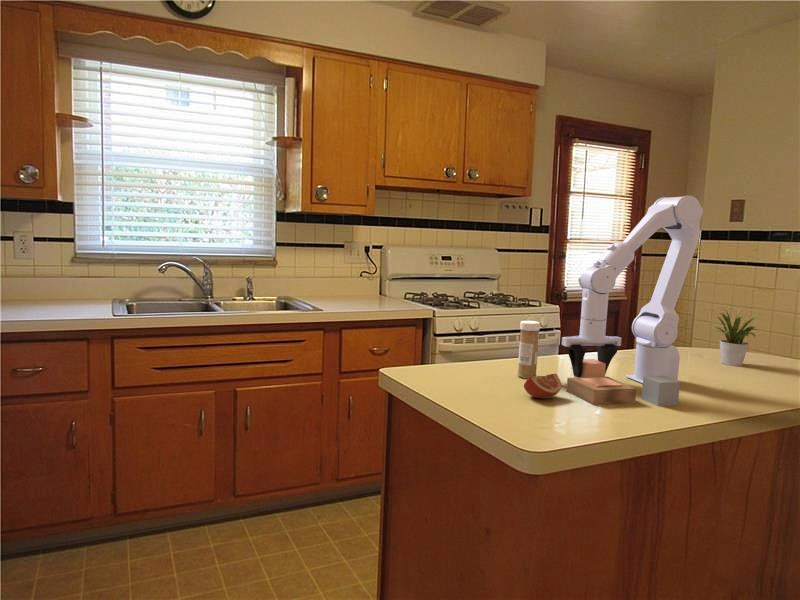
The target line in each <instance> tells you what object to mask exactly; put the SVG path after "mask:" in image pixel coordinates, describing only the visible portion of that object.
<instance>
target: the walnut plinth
mask: <svg viewBox="0 0 800 600" xmlns="http://www.w3.org/2000/svg"><path fill="white" fill-rule="evenodd" d="M566 378H567V380H566V392H567V393H568V394H570V395H572V396H575V397H577V398H579V399H580V400H582V401H584V402H585V403H588V404H590V405H591V406H599V405H602V406H603V405H621V404H622V405H623V404H624V405H625V404H635V403H636V396H637V395H636V394H637V388H636V387H633V386H631V385H629V384H627V383H624V382H622V381H619V380H617V379H614V378H611V377H610V376H606V375H605V377H574V376H573V377H566Z"/></svg>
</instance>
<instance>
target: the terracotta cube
mask: <svg viewBox="0 0 800 600" xmlns="http://www.w3.org/2000/svg"><path fill="white" fill-rule="evenodd" d="M605 368H606V364H605V363H603V362H600V361H598V359H595V358H584V359H583V363H582V373H581V377H605V376H606V374H605ZM574 377H576V376H574V375H573V378H574Z"/></svg>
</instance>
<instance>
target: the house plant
mask: <svg viewBox="0 0 800 600" xmlns="http://www.w3.org/2000/svg"><path fill="white" fill-rule="evenodd" d="M741 308H742V306H740V307H739V309H738V310H737V312H736V315H735V318H734V322H733V326H732V322H731V318H730V315H729V312H728V311H727V310H726V309H723V308H722V310H720V312H719V315H721V316H722V317H721V316H716V318H717V319H718V321H720V322H721V324H722V325H723V328H724V329H723V328H720V326H719V327H718V326H713V327H712V329H717V330H719V332H720V333H723V336H725V338H726V339H720V340H719V350H720V363H721V364H723V365H727V366H732V367H733V366H734V367H741V366H743V364H744V359H745V357H746V353H747V350H748V347H749V343H748V342H746V341H744V339H745V337H746V338H749V335H751V336H753V338H756V334H755V332H752V331H756V330H757V331H758V328H756V326H754V325H753V326H751V325H750V326H748V325H749V324H750V323H751V322H753V321H754V320H755V319H757V318H759V316H760V315H761V314H755V315H753V316H751V317H750V318H748V319H747V320H746V321H745V322H744V323H743V324H742V326H741V321H742V319H743V318H744V317H742V316H743V314H742V315H741V313H740V310H741ZM706 310H708V311H709V309H708V308H706ZM710 311H712V312H713V310H712V309H710ZM724 311H725V312H726V314H727V315H726V314H725V312H724ZM746 312H747V311H745V312H744V314H746ZM714 313H715V314H717V312H715V311H714ZM723 320H724V321H725V322H724V321H723ZM740 326H741V328H740ZM747 326H748V327H747Z"/></svg>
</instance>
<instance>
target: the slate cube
mask: <svg viewBox="0 0 800 600" xmlns="http://www.w3.org/2000/svg"><path fill="white" fill-rule="evenodd" d="M680 385H681V381H679V380H677V381H676V380H673V379H671V378H668V377H665V376H644V377H643V383H642V388H641V400H642V401H644V402H648V403H650V404H652V405H654V406H656V407H662V406H663V407H665V406H666V405H668V406H678V405H679V396H680Z"/></svg>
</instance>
